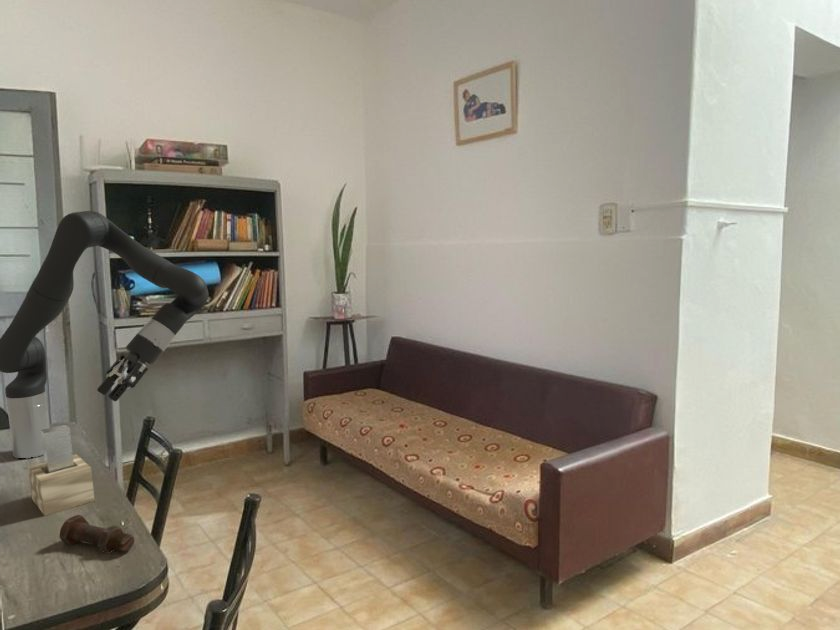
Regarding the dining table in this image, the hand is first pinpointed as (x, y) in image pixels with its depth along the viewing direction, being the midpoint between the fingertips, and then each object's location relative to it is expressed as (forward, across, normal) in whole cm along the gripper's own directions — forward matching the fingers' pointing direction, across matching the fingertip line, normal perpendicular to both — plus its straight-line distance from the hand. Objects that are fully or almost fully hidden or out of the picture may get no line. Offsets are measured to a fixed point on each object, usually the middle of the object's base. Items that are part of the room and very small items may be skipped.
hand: (105, 396), depth 142 cm
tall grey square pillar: (+22, 0, +6) cm, 22 cm away
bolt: (+24, +29, +8) cm, 39 cm away
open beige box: (+24, 0, +8) cm, 25 cm away
